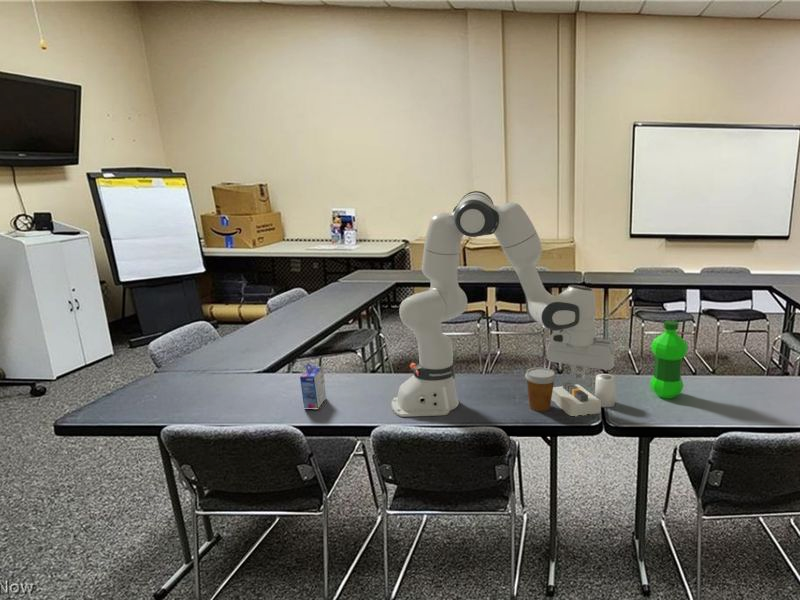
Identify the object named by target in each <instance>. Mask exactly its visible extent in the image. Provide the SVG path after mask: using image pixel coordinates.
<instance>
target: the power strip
mask: <svg viewBox="0 0 800 600" xmlns="http://www.w3.org/2000/svg"><path fill="white" fill-rule="evenodd" d="M553 401H554V402H555V403H556V404H555V403H554V402H553ZM551 402H553V403H554V404H555V405H557V406H558V407H559V408H560V409H561V408H562V409H563V410H564V411H563V410H562V409H561V410H562V411H563V412H564V413H566V415H568V416H569V415H570V416H575V417H579V416H578V415H582V416H588V415H587V414H590V415H596V414H602V407H601V401H600V400H599V399H598V398H596V397H595V394H592V393H591V392H589V391H588V390H587V389H586V388H584V387H583V386H581V385H580V384H579V383H577V384H574V383H573V382H571V381H569V380H568V381H563V382H562V386H561V385H560V386H557V385H556V384H555V383H554V385H553V392H552V398H551ZM570 416H569V417H570Z"/></svg>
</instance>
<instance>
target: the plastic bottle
mask: <svg viewBox="0 0 800 600" xmlns="http://www.w3.org/2000/svg"><path fill="white" fill-rule="evenodd" d="M679 324H680V323H679V322H678V321H673V320H665V321H663V325H662V326H663V329H664V332H663V333H661V334H659V335H658V336H657V337H655V338H654V340H653V339H652V340H653V341H652V342H651V347H650V350H651V353H652V354H653V355H654V368H653V376H652V377H651V379H650V381H649V387H650V389H651V390H652V391H653V392H654V393H655V394H656V395H657V397H660V398H663V399H668V400H669V399H674V398H675V397H677V396H679V395H680V394H681V392H682V391H683V389H684V382H683V379H682V377H681V376H682V364H683V359H684V358H685V357H686V355H687V352H688V350H689V349H688V348H689V346H688V343H687V341H686V340H684V338H682V337H681V336H680V335H679V334H678V333H677V330H679Z"/></svg>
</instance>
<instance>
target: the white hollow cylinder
mask: <svg viewBox="0 0 800 600" xmlns="http://www.w3.org/2000/svg"><path fill="white" fill-rule="evenodd" d="M616 382H617V377H616V376H615V375H613V374H609V373H599V374H596V375H595V385H594V386H595V387H594V388H595V389H594V390H595V392H594V396H595V397H596V398H598V399H599V400H600V401H601V408H612V407H614V406H615V403H616V388H617V387H616V385H617V383H616Z"/></svg>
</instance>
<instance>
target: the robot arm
mask: <svg viewBox="0 0 800 600" xmlns="http://www.w3.org/2000/svg"><path fill="white" fill-rule="evenodd" d="M488 235H489V236H491V235H494V236H495V238H496V240H497V241H498V244H499V245H500V248H501V250H502V252H503V254H504V256H505V257H506V259H507V261H508V263H509V264H510V266H511V267H512V268H513V270H514V271H515V274H516V276H517V279H518V281H519V283H520V286H521V288H522V291H523V293H524V294H523V295H524V297H525V310H526V313H527V315H528V316H527V317H529V319H532V320H533V321H535V322H536V323H538V324H540V325H541V326H543V327H544V328H546V329H547V330H551V331H554V332H553V333H551V334H550V336H549V339H550V342H549V343H548V344H547V349H546V350H547V351H546V360H548V362H551V363H557V364H565V365H570V367H569V368H570V369H571V371H572V373H573V378H574V379H580V380H584V379H585V377H586V376H585V375H586V372H587V371H588V370H589V368H592V369H600V370H605V371H606V370H607V371H610V370H612V368H613V367H614V366H615V354H614V353H615V352H616V345H615V343H614V342H613V341H611V340H610V339H608V338H607V339H603V338H597V337H596V324H595V323H596V322H595V318H596V314H597V301H596V294H595V292H594V290H593V289H592V288H590V287H589V286H588V287H587V286H584V285H579V284H570V285H568V287H567V288H566V289H565V290H564V291H562V292H560V293H559V294H557V295H555V296H554V295H553V294H551V293H550V292H549V291H547V290H546V288H545V285H544V284H543V282H542V280H541V276H540V274H539V271H538V269H537V263H538V261H539V260H540V259H541V256H542V254H543V247H542V243H541V240H540V237H539V234H538V232H537V230H536V227H535V226H534V224H533V222H532V220H531V219H530V217H529V215H528V214H527V213H526V211H525V210H524V209H523V207H522V206H521V205H520V204H518V203H517V202H508V203H504V204H502V205H495V204H494V202H493V200H492V198H491V197H490V196H489V194H487V193H486V192H483V191H478V190H474V191H470V192H468V193H467V194H465V195H463V197H462V198H461V199H460V201H459V202H458V203H457V204H456V206H454V208H453V211H452V212H439V213H436V214H434V215H433V216H432V217H431V218H430V221H429V223H428V226H427V230H426V234H425V238H424V245H423V253H422V259H421V260H422V262H421V272H422V274H423V275H424V276H425V278H426V279H428V280H429V282H430V287H429V289H428V290H425V291H422V292H417V293H414V294H411V295H410V296H408V297H406V298H404V299H403V300H402V301H401V303H400V305H399V309H398V311H399V313H398V314H399V317H400V318H399V319H400V320H401V322H402V323H403V324H404V325H405V326H406V327H407V328H409V330H411V331H412V332H413V333H414V336H415V338H416V341H417V347H418V349H417V350H418V357H419V358H418V359H419V361H418V363H417V364H416V363H415V362H411V363H410V364H409V367H410V369H411V370H412V371H413V375H412V376H410V377H409V378H408V379H406V380H405V381H404V382H403V383H401V385H400V386H399V388H398V392H397V396H395V397H393V399H391V409H392V411H393V410H394V411H393V412H394V414H396V415H397V416H399V417H405V418H410V417H431V416H434V417H435V416H447V415H448V414H449V413H450V412H451V411H452V410H454V409H456V408H457V407H458V406H459V404H460V402H459V399H458V395H457V392H456V390H457V389H456V386H455V385H456V384H455V376H456V370H455V367H456V366H455V363H454V361H453V360H454V359H453V358H454V357H453V354H454V352H453V341H452V339H451V337H449V336H448V335H446V334H444V333H443V331H442V325H441V324H442V323H443V322H444V323H445V322H447V321H450V320H454V319H456V318H457V317H459V316H460V315H462V314H463V313H464V312H465V311H466V310H467V307H468V297H467V295H466V293H465V291H464V290H463V289H462V288H461V287H460V285H459V280H458V267H459V258H460V253H461V244H462V241H463V237H464V236H466V237H469V238H473V237H474V238H478V237H483V236H488ZM579 366H580V367H581V369H582V370H583V371H578V369H577V368H576V367H579Z"/></svg>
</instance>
